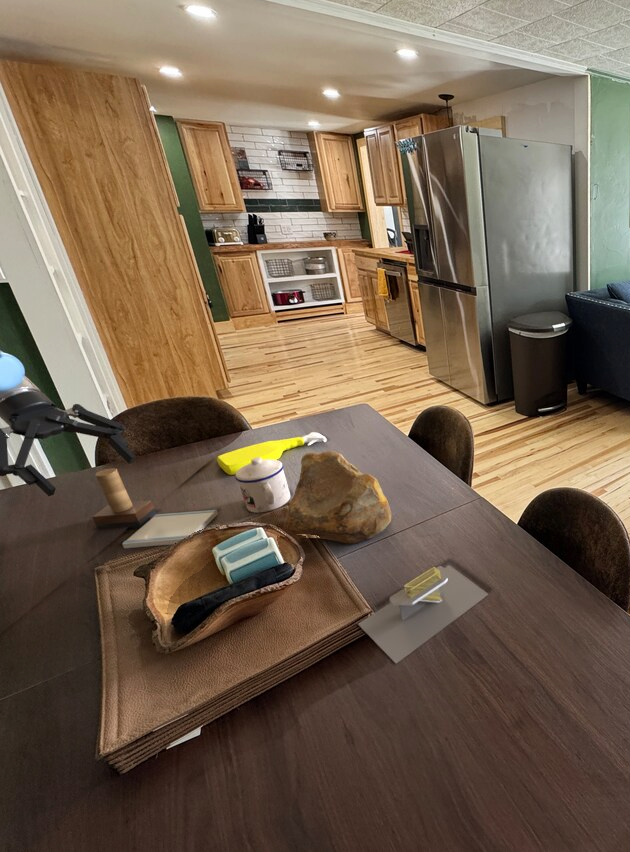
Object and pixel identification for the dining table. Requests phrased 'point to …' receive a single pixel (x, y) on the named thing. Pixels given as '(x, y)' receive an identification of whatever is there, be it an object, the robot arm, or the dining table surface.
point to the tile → (169, 528)
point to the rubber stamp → (120, 504)
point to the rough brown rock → (336, 501)
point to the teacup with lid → (263, 485)
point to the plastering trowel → (421, 611)
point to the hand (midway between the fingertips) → (94, 475)
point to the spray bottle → (263, 451)
